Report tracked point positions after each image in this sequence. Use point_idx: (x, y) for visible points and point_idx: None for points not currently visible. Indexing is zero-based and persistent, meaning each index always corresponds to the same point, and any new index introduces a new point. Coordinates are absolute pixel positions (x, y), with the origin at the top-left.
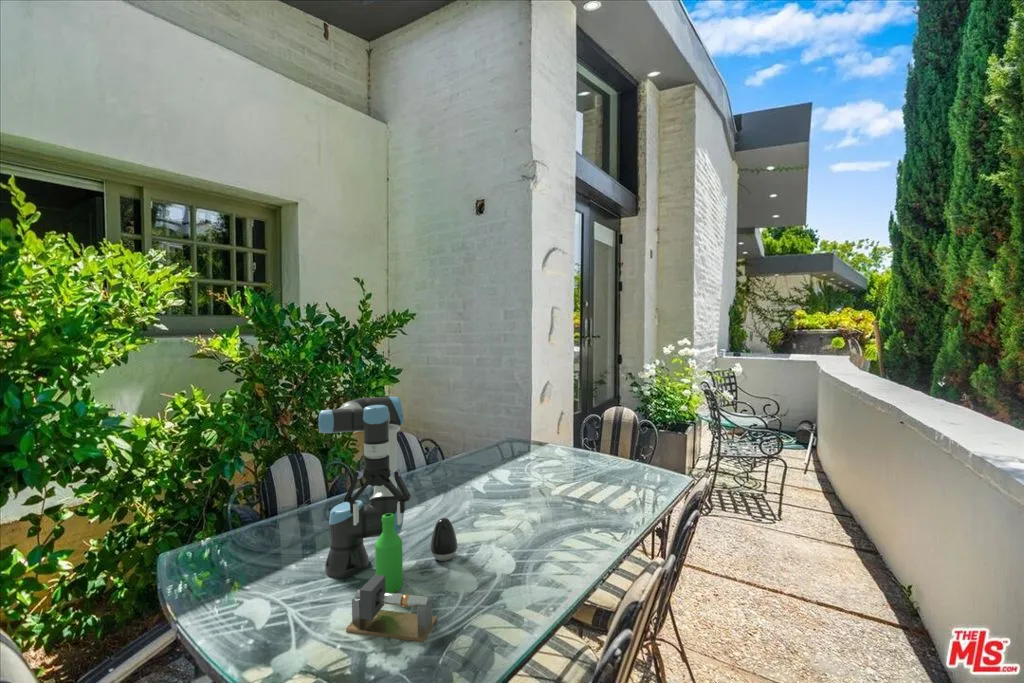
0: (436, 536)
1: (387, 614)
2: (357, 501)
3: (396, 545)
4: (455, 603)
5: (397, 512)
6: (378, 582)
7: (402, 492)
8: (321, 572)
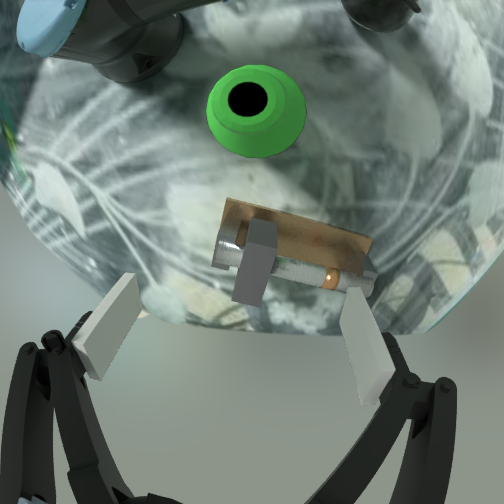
0: (375, 3)
1: (281, 225)
2: (81, 347)
3: (292, 141)
4: (403, 192)
5: (352, 365)
6: (267, 277)
7: (408, 458)
8: (95, 69)
